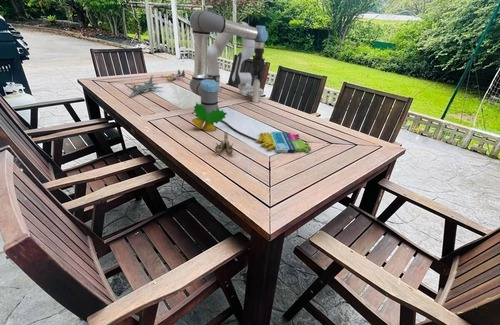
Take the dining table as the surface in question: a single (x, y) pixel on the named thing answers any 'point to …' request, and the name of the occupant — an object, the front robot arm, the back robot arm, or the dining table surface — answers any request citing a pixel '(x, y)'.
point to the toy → (174, 76)
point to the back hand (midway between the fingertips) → (256, 94)
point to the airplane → (143, 87)
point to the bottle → (256, 91)
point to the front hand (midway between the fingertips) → (257, 78)
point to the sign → (283, 142)
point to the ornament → (207, 117)
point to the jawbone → (224, 145)
